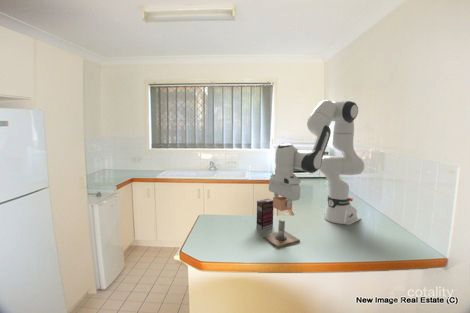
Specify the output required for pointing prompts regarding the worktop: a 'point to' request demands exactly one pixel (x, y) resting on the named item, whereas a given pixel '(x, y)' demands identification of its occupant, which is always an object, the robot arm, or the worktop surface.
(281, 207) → the ring
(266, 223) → the supplement box
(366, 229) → the worktop surface
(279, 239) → the post board
